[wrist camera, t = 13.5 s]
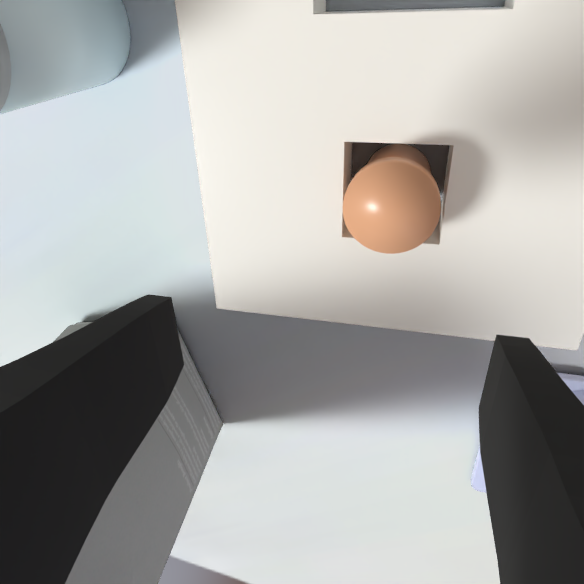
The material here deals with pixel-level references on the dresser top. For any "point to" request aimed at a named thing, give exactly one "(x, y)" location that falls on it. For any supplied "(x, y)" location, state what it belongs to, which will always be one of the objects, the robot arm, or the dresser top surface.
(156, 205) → the dresser top surface
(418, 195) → the tan round piece
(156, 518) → the skincare box
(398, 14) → the housing
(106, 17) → the cup
